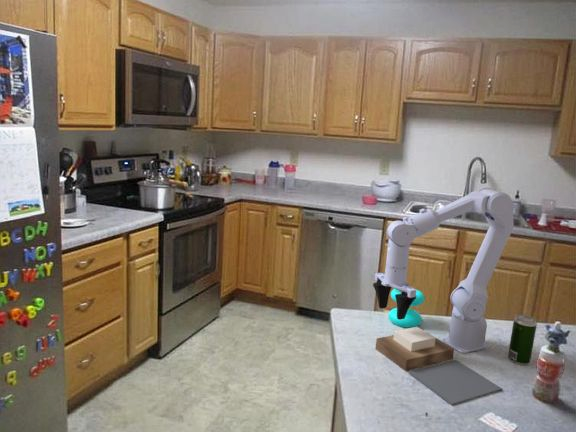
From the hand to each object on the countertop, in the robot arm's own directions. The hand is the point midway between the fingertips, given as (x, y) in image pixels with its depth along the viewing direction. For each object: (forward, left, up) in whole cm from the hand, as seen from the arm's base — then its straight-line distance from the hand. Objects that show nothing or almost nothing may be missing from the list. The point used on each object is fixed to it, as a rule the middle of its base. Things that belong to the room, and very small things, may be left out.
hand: (391, 313), depth 126 cm
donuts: (-14, -9, -9) cm, 19 cm away
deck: (-2, +8, -9) cm, 12 cm away
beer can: (-27, +21, -9) cm, 35 cm away
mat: (-2, +22, -9) cm, 24 cm away
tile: (-2, +7, -6) cm, 9 cm away
